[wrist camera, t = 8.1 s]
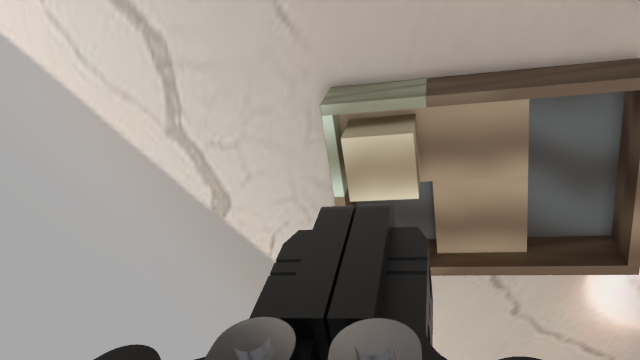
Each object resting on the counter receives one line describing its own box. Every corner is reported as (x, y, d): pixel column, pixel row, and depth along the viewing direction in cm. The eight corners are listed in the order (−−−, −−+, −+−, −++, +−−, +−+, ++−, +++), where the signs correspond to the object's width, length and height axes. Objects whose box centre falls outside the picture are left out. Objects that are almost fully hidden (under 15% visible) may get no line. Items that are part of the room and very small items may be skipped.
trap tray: (331, 87, 42) (320, 105, 38) (639, 58, 37) (663, 75, 33) (354, 246, 48) (346, 275, 44) (620, 241, 43) (638, 274, 39)
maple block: (349, 119, 40) (340, 138, 37) (415, 113, 39) (413, 133, 35) (357, 178, 42) (350, 201, 39) (420, 174, 41) (418, 198, 37)
